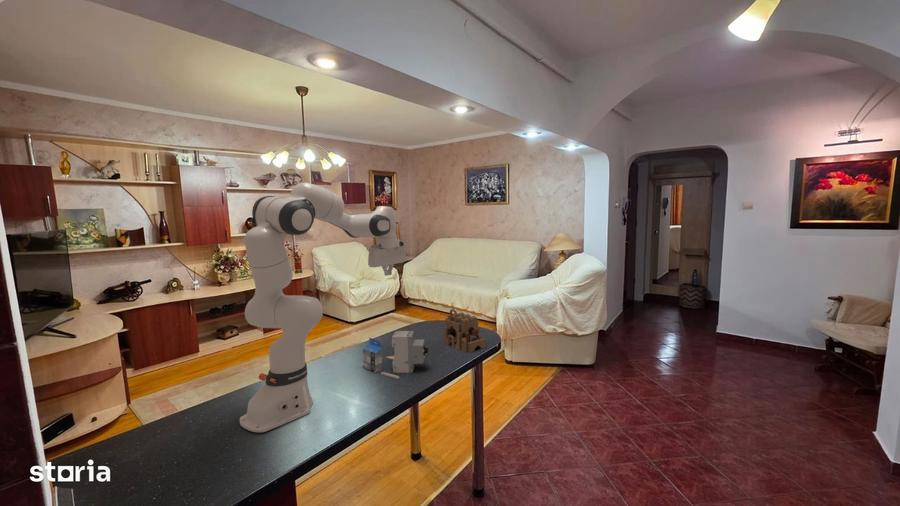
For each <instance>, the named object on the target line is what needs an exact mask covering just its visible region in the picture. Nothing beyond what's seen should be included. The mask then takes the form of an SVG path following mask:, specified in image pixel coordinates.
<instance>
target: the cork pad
mask: <svg viewBox="0 0 900 506" xmlns="http://www.w3.org/2000/svg"><path fill="white" fill-rule="evenodd" d="M394 357H395V356H394V355H392V356H391V355H389V356H385V358H387V359H390V360H392V361H393V360H394Z"/></svg>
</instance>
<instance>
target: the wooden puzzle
mask: <svg viewBox="0 0 900 506" xmlns="http://www.w3.org/2000/svg"><path fill="white" fill-rule="evenodd" d="M453 313H454V314H453ZM477 317H478V316H475V315H470V314H469V313H467V314H465V313H464V312H462V311H461V312H457V310H455V309H454V308H452V309H450V310H449V314H448V315H447V318H445V327H443V332H441V335H440V337H441V340H442V342H443V343H445V344H446V345H447V346H451V347H452V348H453V349H456V350H459V351H461V352H463V353H467V352H469V353H473V352H475V350H476V348H478V349H481V350H482V349H485V348H486V339H485V338H483V336H482V333H481V332H480V327H479V320H478V318H477ZM461 349H462V350H461Z"/></svg>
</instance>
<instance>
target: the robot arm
mask: <svg viewBox="0 0 900 506" xmlns="http://www.w3.org/2000/svg"><path fill="white" fill-rule="evenodd" d="M289 195H290V196H288V197H284V196H275V195H266V196H262V197H260V198H258V199H257V200H255V202H254V203H253V205H252V209H251V210H252V211H251V216H252V219H251V225H252V226H253V227H252V228H251V229H249V230H248V231H247V232H246V233H245V235H244V246H245V251H246V256H247V261H248V264H249V267H250V271H251V275H252V278H253V282H254V285H255V290H254V291H255V292H254V294H253V297H252V298H251V299H250V300H249V301H248V302H247V304H246V306H245V309H244V318H245V320H246V322H247V323H248V324H249V325H251V326H252V327H253V326H254V327H258V328H262V329H282V334H281V337H280V338H278V339H276V340H274V341H273V342H272V343H271V345H270V346H269V349H268V358H269V370H268V371H267V374H266V373H263V372H262V373H259V375H258V377H257V378H258V380H261V381H265V383H264V384H263V385H262V386H261V387H260V388H259V389H258V390H257V392H256V393H255V394H254V395H253V396H252V397H251V398H250V399H249V400H248V402H247V410H246V413H245V414H244V415H242V416H240V417H239V425H240V427H242V428H243V429H245V430H247V431H249V432H253V433H265V432H268V431H270V430H272V429H275V428H278V427H280V426H282V425H284V424H287V423H289V422H291V421H294V420H297V419H299V418H301V417H303V416H307V415H308V414H310V412H311V407H312V405H313V403H314V401H313V399H312V396H311V392H310V389H309V384H308V365H307V363H306V340H307V337H308V335H309V333H310V332H311V330H313V328H315V327H316V326H317V325H319V323H320V322H321V319H322V318H323V314H324V310H323V305H322V302H321V301H320V300H319V298H317V297H314V296H313V297H312V296H308V295H292V294H291V295H286V294H284V292H283V289H285V288H286V287H288V286H289V285H290V284H291V282H292V280H293V271H292V267H291V263H290V260H289V257H288V253H287V250H286V247H285V239H286V234H288V235H290V236H300V235H304V234H306V233H307V232H309V230H310V229H312V225H313V224H314V222H315V219H316V220H319V221H322V222H323V223H328V224H330V225H333V226H335V227H337V228H339V229H341V230H343V232H345V234H346V235H348V236H349V237H350V238H354V239H356V238H358V239H359V238H375V239H376V240H375V241H376V244H372V245H371V246H370V247H369V248H368V259H367V261H368V262H367V265H368V267H369V268H379V267H381V269H382V270H383V272H384V273H383V274H384V276H385V277H386V276H391V275H392V274H393V269H394V265H396V264H403V263H405V261H406V259H407V257H406V256H407V255H406V249H405V246H406V242H405V241H403V240H401V239H399V238H398V235H397V231H396V230H397V217H396V216H397V215H396V212H395V209H394V208H393V207H392V206H389V205H379V206H376V208H375V210H373V211H372V212H370V213H359V214H358V213H350V214H348V213H345V202H344V200H343V199H344V198H342V197H341V196H340V195H339V194H338V193H335V192H333V191H332V190H330V189H328V188H326V187H323V186H321V185H317V184H315V183H314V184H313V183H311V182H306V181H305V182H299V183H297V184H296V185H295V186H294V187H293V188H292V190H291V192H290V194H289Z"/></svg>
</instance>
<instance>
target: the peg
mask: <svg viewBox="0 0 900 506" xmlns="http://www.w3.org/2000/svg"><path fill="white" fill-rule="evenodd" d="M380 372H381V373H380V374H381V375H382V376H385V377H389V378H392V379H396V380H400V376H399V375H395V374H394V373H393V374H392V373H388V372H385V371H380Z"/></svg>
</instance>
